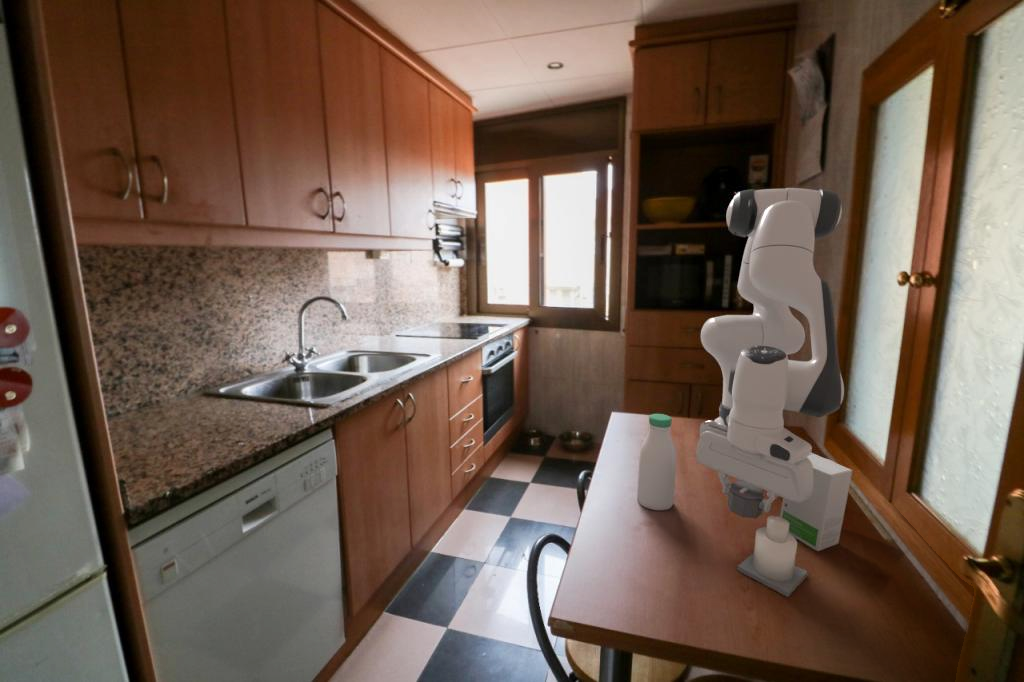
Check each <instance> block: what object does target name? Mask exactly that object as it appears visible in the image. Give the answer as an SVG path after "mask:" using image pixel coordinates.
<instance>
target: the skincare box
mask: <svg viewBox="0 0 1024 682" xmlns="http://www.w3.org/2000/svg"><path fill="white" fill-rule="evenodd" d="M807 458H808V459H809V460H810V461H811V463H812V466H813V491H812V495H811V497H810V498H809V499H808V500H807V501H805V502H803V503H801V504H798V503H795V502H793V501H790V500H788V499H785V498H783V497H782V498H783V499H782V504H781V510H780V516H779V517H781V518H784V519H785V520H787V521H788V522H789V531H788V533H789V534H790V535H792V536H793V537H794V538H795V539H796V540H798V541H800V542H802V543H803V544H804V545H806V546H808V547H810V548H811V549H813V550H815V551H817V552H821V551H823V550H825V549H829V548H831V547H833V546H836V545H838V544H839V541H840V538H841V537H840V536H841V531H842V525H843V522H844V517H845V511H846V505H847V501H848V496H849V491H850V485H851V480H852V475H853V469H851V468H848V467H846V466H843V465H841V464H838V463H837V462H835V461H833V460H831V459H828V458H825V457H822V456H820V455H818V454H816V453H814V452H811V453H810V455H809V456H808V457H807Z"/></svg>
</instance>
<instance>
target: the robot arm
mask: <svg viewBox="0 0 1024 682" xmlns="http://www.w3.org/2000/svg"><path fill="white" fill-rule="evenodd" d="M842 212H843V209H842V199H841V196H840V195H839V194H838V193H837V192H835V191H832V190H828V189H821V188H819V190H816V189H809V188H801V187H799V188H798V187H786V188H766V189H764V188H763V189H757V190H756V189H753V188H751V189H750V188H749V189H746V190H745V189H744V190H741V191H738V192H737V193H736V194H735V195H733V198H732V199H731V201H730V203H729V205H728V207H727V209H726V215H725V217H726V219H725V220H726V225H727V227H728V228H727V229H728V231H729V232H730V233H731V234H732V235H735V236H738V237H742V238H746V237H748V238H747V241H746V244H745V247H744V251H743V255H742V259H741V260H742V261H741V265H740V270H739V274H738V275H739V276H738V281H737V292H738V294H739V295H740V297H741V298H743V299H744V300H745V301H747V302H748V303H751V304H753V312H752V314H748V315H747V314H725V315H720V316H715V317H710V318H708V319H707V320H706V321H705V322H704V324H703V326H702V328H701V330H700V342H701V344H702V347H703V348H704V350H706V352H707V353H709V354H710V355H711V357H713V358H714V359H715V361H716V362H717V363H718V365H719V367H720V369H721V373H722V378H723V379H722V384H723V385H722V401H721V402H720V405H719V408H718V410H719V412H718V415H719V416H718V417H717V418H715V419H714V420H705V421H702V423H701V424H700V426H699V436H700V437H699V439H698V443H697V446H696V450H695V451H696V452H695V458H696V460H697V463H698V464H700V465H703V466H705V467H707V468H709V469H712V470H714V471H716V472H717V473H718V474H717V477H718V479H719V481H720V483H721V485H722V491H721V492H722V494H724V495H726V496H729V488H731V484H732V483H731V481H730V479H729V477H731V478H734V479H737V480H739V481H743V482H746V483H749V484H751V485H753V486H756V487H758V488H761V489H762V490H763V491H766V496H767V498H765V497H764V498H763V499H762V500H760V501H759V507H758V509H760V510H762V512H765V513H769V512H770V511H771V509H772V503H773V502H774V501H775V500H776V499H778V498H779V497H781V498H785V499H788V500H790V501H793V502H795V503H798V504H801V503H803V502H805V501H807V500H808V499H809V498H810V497H811V495H812V491H813V466H812V463H811V461H810V460H809V459H808V458H807V457H808V456H809V455H810V453H812V449H813V447H812V445H811V443H810V442H807V441H806V440H804V439H802V438H801V437H800V436H797V435H796V434H794V433H792V432H791V431H790V430H788V429H787V428H785V427H784V423H785V422H784V417H783V415H784V414H783V412H784V410H786V411H793V412H798V413H799V414H802V415H803V414H804V415H807V416H810V417H814V418H823V417H825V416H828V415H830V414H833V413H834V412H836V411H838V410H839V409H840V408H841V405H842V403H843V400H844V397H845V385H844V380H843V377H842V374H841V367H840V363H839V361H840V360H839V353H838V343H837V331H836V320H835V309H834V303H833V301H834V300H833V295H832V291H831V288H830V284H829V282H828V281H826V280H824V279H822V278H820V276H819V275H818V274H817V271H816V270H815V266H814V253H815V241H816V240H822V239H824V238H825V239H826V238H827V237H828V236H830V235H831V234H832V233H833V232H834V231H835V229H836V227H837V226H838V224H839V223H840V221H841V218H842ZM790 307H791V308H793V309H795V310H797V311H798V312H800V313H801V314H803V316H804V317H805V318H806V320H807V321H808V324H809V332H810V343H811V359H810V360H808V361H807V360H806V361H803V360H802V361H801V360H795V359H793V360H792V359H789V357H788V355H792V354H793V355H794V354H795V353H797V352H798V351H800V349H802V347H803V346H804V343H805V339H806V333H805V328H804V327H803V324H802V323H801V322H800V321H799V319H797V318H796V317H795V316H794V314H793V313H792V312H791V309H790Z"/></svg>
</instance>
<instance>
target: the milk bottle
mask: <svg viewBox="0 0 1024 682" xmlns="http://www.w3.org/2000/svg"><path fill="white" fill-rule="evenodd" d="M672 423H673V422H672V417H671V416H669V415H667V414H664V413H652V414H650V415H649V417H648V427H649V430H648V433H647V435H646V436H645V438H644V440H643V442H642V444H641V447H640V449H639V450H640V451H639V459H638V460H639V461H638V472H637V475H638V476H637V489H636V490H637V493H636V498H637V502H638V503H639V504H640V505H641V506H642V507H644V508H646V509H649V510H652V511H667V510H669V509H671V508H672V507H673V504H674V500H675V499H674V497H675V484H676V471H677V452H676V451H677V450H676V448H675V444H674V442H673V439H672V436H671V428H672Z"/></svg>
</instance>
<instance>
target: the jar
mask: <svg viewBox="0 0 1024 682" xmlns="http://www.w3.org/2000/svg"><path fill="white" fill-rule="evenodd" d="M788 531H789V522H788V521H787V520H785V519H784V518H781V517H780V516H777V515H769V516H768V517H767V519H766V526H763V527H759V528H757V530H756V532H755V541H754V551H753V553H750V555H748V557H747V558H745V559H744V560H743V561H742V562H741V563H740V564H739V565H738V566H737V571H738V572H740V573H742V574H744V575H746V577H749V578H751V579H753V580H755V581H757V582H759V583H761V584H762V585H764V586H766V587H768V588H770V589H772V590H774V591H776V592H777V593H780V594H781V595H783V596H785V597H787V598H789V597H790V596H791V595H792V594H793V592H795V590H796V589H797V588H798V587H799V586H800V585H801V583H802V582H803V581H804V580H805V579H806V578H807V577H808V571H807V570H805V569H803V568H800V567H799V566H797V565H795V564H796V563H795V562H796V555H797V548H798V541H797V539H796V538H794V537H793V536H792V535H790V534H789V533H788ZM797 586H798V587H797ZM796 587H797V588H796ZM795 588H796V589H795Z"/></svg>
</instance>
